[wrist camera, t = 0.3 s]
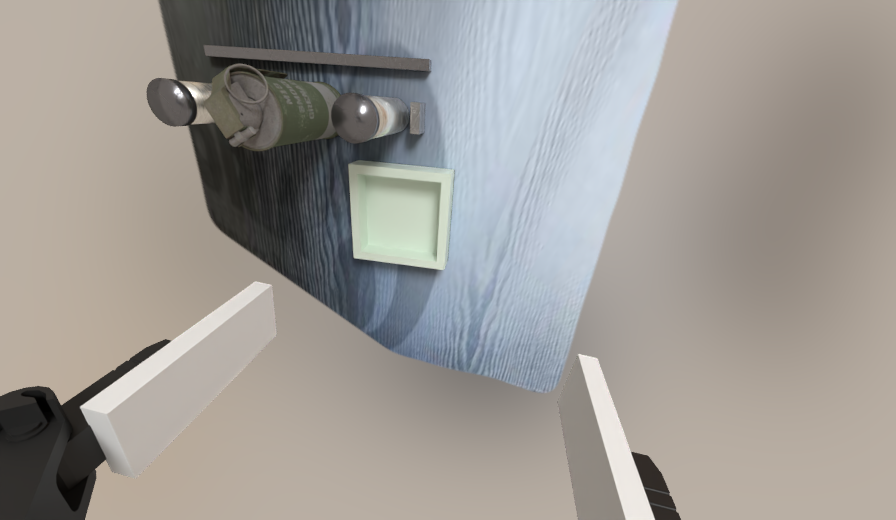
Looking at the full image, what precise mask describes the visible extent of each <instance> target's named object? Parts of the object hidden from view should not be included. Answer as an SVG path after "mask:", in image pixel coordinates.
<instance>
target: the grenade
mask: <svg viewBox="0 0 896 520" xmlns="http://www.w3.org/2000/svg"><path fill="white" fill-rule="evenodd" d="M286 76H287V74H285V73H280V72H274V71H268V70H262V69H255V68H254V67H251V66H249V65H246V64H235V65H232V66H228V67H227V68H226V69H225V70H223V71H222V72H221V73H219V74H218V75H217V76H215V77H214V78H213V79H212V92H211V95H210V96H209V98H208V99H206V100H205V101H204V102H203V104H204V106H205V108H206V109H207V111H208V112H209V114H210V115H211V117H212V118H213V120H214V121H215V123H216V124H217V126H218V127H219V129H220V130H221V132H222V133H223V135H224V136H225V138H226V139H230V140H229V143H230V144H231V145H232V146H234V147H236V146H238V147H240V146H242V147H244V148H246V149H249V150H252V151H265V150H268V149H271V148H272V147H277V146H282V145H288V144H294V143H300V142H305V141H311V140H317V139H330V138H334V137H336V136H337V135H338V133H337V132H336V130H335V129H334V127H333V124H332V119H331V110H332V107H333V104H334V102H335V101H336V99H337V98H338V97H340V96H341V95H340V94H339V92H338V91H337V90H336V89H335V88H333V87H332V86H331V85H329V84H327V83H324V82H305V81H297V80H289V79H284V78H285V77H286Z"/></svg>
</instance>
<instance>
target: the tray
mask: <svg viewBox="0 0 896 520" xmlns="http://www.w3.org/2000/svg"><path fill="white" fill-rule="evenodd" d="M348 168H349V186H350V203H351V221H352V238H353V255H354V258H357V259H364V260H372V261H379V262H387V263H394V264H402V265H409V266H417V267H424V268H432V269H439V270H444V269H445V266H446V264H447V261H448V252H449V239H450V226H451V213H452V200H453V187H454V174H455V170H454V169H444V168H434V167H424V166H414V165H404V164H394V163H384V162H374V161H364V160H358V161H355V162H352V163H349V164H348Z"/></svg>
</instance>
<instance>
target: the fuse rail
mask: <svg viewBox="0 0 896 520" xmlns="http://www.w3.org/2000/svg"><path fill="white" fill-rule="evenodd" d="M204 50H205V55H206V56H210V57H221V58H236V59H250V60H265V61H280V62H295V63H309V64H324V65H339V66H354V67H368V68H383V69H398V70H413V71H427V72H431V60H430V59H415V58H400V57H384V56H368V55H353V54H337V53H321V52H305V51H290V50H274V49H258V48H243V47H227V46H211V45H204ZM211 92H212V83H199V82H186V81H177V80H173V79H164V78H157V79H154V80H152V81H151V82H150V83H149V85H148V87H147V100H148V103H149V106H150V108H151V110H152V111H153V113H154V114H155V115H156V117H157V118H158V119H159V120H161V121H162V122H163V123H165V124H167V125H170V126H187V125H190V124H205V123H215V121H214V120H213V118H212V117H211V115H210V114H209V112H208V111H207V109H206V108H205V106H204V104H203V102H204V101H205V100H206V99H208V98H209V96H210V95H211ZM331 119H332V124H333V127H334V129H335V130H336V132H337V133H338V135H339V136H340V137H341V138H343V139H344V140H346V141H348V142H350V143H362V142H366V141H369V140H370V139H373V138H378V137H382V136H386V135H390V134H394V133H398V132H401V131H403V130H404V129H405V128H406V127H407V125H408V122H409V110H408V108H407V106H406V105H405V103H404V102H403V101H401V100H400V99H398V98H392V97H379V96H367V95H362V94H358V93H346V94H343V95H341V96H340V97H338V98H337V99H336V101H335V102H334V104H333V107H332V110H331ZM424 129H425V103H417V102H411V107H410V134H422V133H424Z"/></svg>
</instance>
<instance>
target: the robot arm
mask: <svg viewBox="0 0 896 520" xmlns="http://www.w3.org/2000/svg"><path fill="white" fill-rule="evenodd" d="M276 335H277V331H276V322H275V311H274V301H273V291H272V285H270V284H265V283H261V282H256V281H255V282H254V283H252V284H251V285H250V286H248V287H247V288H245V289H244V290H243V291H241V292H240V293H238V294H237V295H236V296H234V297H233V298H231V299H230V300H229V301H227V302H226V303H224V304H223V305H222V306H220V307H219V308H217V309H216V310H215V311H213V312H212V313H210V314H209V315H208V316H206V317H205V318H203V319H202V320H201V321H199V322H198V323H196V324H195V325H194V326H192V327H191V328H190V329H188V330H187V331H185V332H184V333H183V334H181V335H180V336H178V337H177V338H175V339H174V340H173V341H170V340H166V339H165V340H163V341H160V342H158V343H156V344H153V345H151V346H149V347H146V348H145V349H143V350H142V351H140V352H139V353H138V354H136V355H135V356H133V357H132V358H130V360H129V361H126V362H124V363H123V364H121V365H120V366H118V367H117V368H116V370H115V371H114V370H113V371H111V372H110V373H108V374H107V375H105V376H104V377H102V378H101V379H99V380H98V381H96V382H95V383H93V384H92V385H91V386H89V387H88V388H86V389H85V390H83V391H82V392H80V393H79V394H77V395H76V396H75V397H73V398H72V399H70V400H69V401H67V402H66V403H64V404H63V405H60V403H59V401H58V399H57V397H56V395H55V393H54V392H53V391H52V390H51V389H50V388H47V387H40V386H37V387H28V388H23V389H20V390H16V391H12V392H9V393H7V394H5V395H2V396H0V520H85V517H86V513H87V509H88V506H89V502H90V499H91V495H92V492H93V488H94V484H95V481H96V470H95V469H96V468H97V467H98V466H99V465H100V464H101V463H102V462H104V461H105V460H106V461H107V463H108V465H109V467H110V469H111V471H112V472H114V473H118V474H121V475H125V476H128V477H132V478H137V477H138V476H139V475H140V474H141V473H142V472H143V471H144V470H145V469H146V468H147V467H148V466H149V465H150V464H151V463H152V462H153V461H154V460H155V458H157V457H158V456H159V455H160V454H161V453H162V452H163V450H164V449H165V448H166V447H167V446H168V445H169V444H170V443H171V442H172V441H173V440H174V439H175V438H176V437H177V436H178V435H179V434H180V433H181V432H182V431H183V430H184V429H185V428H186V427H187V426H188V425H189V424H190V423H191V422H192V421H193V420H194V419H195V418H196V417H197V416H198V415H199V414H200V413H201V412H202V411H203V410H204V409H205V408H206V407H207V406H208V405H209V404H210V403H211V401H213V399H215V398H216V396H218V394H219V393H220V392H221V391H222V390H223V389H224V388H225V387H226V386H227V385H228V384H229V383H230V382H231V381H232V380H233V379H234V378H235V377H236V376H237V375H238V374H239V373H240V372H241V371H242V370H243V369H244V368H245V367H246V366H247V365H248V364H249V363H250V362H251V361H252V360H253V359H254V358H255V357H256V356H257V355H258V354H259V353H260V351H262V350H263V349H264V348H265V347H266V346H267V345H268V344H269V343H270V342H271V341H272V339H274V338H275V336H276ZM558 407H559V413H560V418H561V424H562V430H563V436H564V441H565V448H566V453H567V459H568V464H569V470H570V476H571V482H572V488H573V493H574V499H575V505H576V511H577V517H578V520H681V518H680V516H679V514H678V513H677V512H676V507H675V504H674V502H673V499H672V497H671V496H670V495H669V493H670V492H669V490H668V488H667V485H666V483H665V480H664V478H663V476H662V474H661V472H660V471H659V470H658V468H657V467H656V466H655V464H654V463H653V462H652V460H651V459H650V458H649V456H647V455H642V454H638V453H634V452H631V451H630V449H629V446H628V443H627V440H626V437H625V434H624V432H623V429H622V426H621V423H620V420H619V418H618V415H617V412H616V409H615V406H614V404H613V401H612V398H611V396H610V392H609V390H608V387H607V384H606V381H605V379H604V376H603V373H602V370H601V368H600V365H599V362H598V359H597V358H594V357H590V356H585V355H581V354H578V355H577V358H576V360H575V362H574V364H573V367H572V369H571V371H570V374H569V376H568V378H567V381H566V383H565V385H564V387H563V390H562V392H561V395H560V397H559V399H558Z"/></svg>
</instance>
